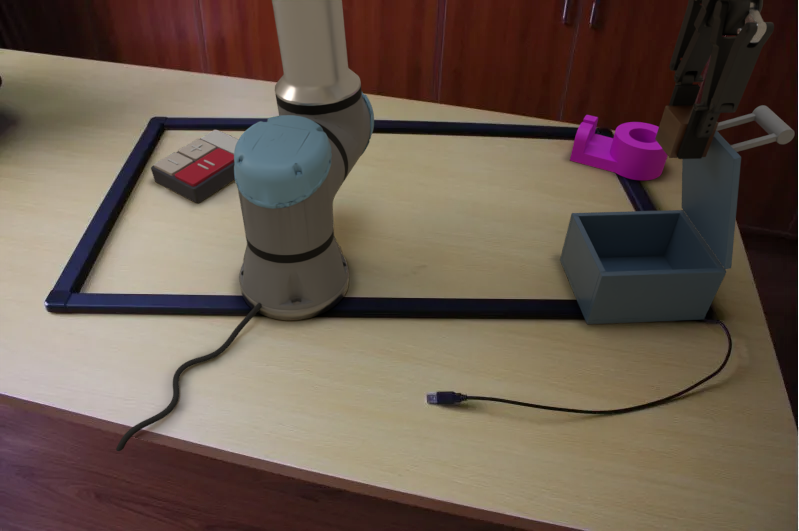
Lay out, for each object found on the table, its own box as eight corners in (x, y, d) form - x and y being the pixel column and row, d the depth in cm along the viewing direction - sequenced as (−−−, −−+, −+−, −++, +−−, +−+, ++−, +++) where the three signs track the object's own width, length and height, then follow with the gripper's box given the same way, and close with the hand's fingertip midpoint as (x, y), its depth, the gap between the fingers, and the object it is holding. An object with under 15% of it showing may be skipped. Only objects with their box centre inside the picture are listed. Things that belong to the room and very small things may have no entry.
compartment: (586, 324, 87) (602, 276, 81) (559, 259, 97) (571, 212, 92) (703, 319, 89) (727, 271, 83) (664, 256, 99) (683, 209, 93)
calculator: (148, 163, 108) (215, 125, 117) (154, 184, 111) (219, 145, 119) (192, 185, 103) (258, 144, 112) (198, 207, 106) (262, 164, 115)
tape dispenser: (666, 160, 120) (676, 130, 116) (657, 186, 114) (667, 155, 109) (582, 138, 126) (589, 109, 121) (568, 162, 119) (575, 132, 115)
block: (669, 158, 76) (681, 123, 73) (654, 139, 79) (665, 105, 76) (705, 157, 76) (719, 123, 73) (689, 138, 80) (701, 104, 77)
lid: (734, 158, 71) (816, 136, 70) (683, 102, 81) (754, 82, 80) (725, 269, 83) (795, 252, 81) (681, 207, 93) (743, 191, 92)
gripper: (680, -88, 69) (624, 112, 84) (763, -39, 55) (679, 187, 71) (746, -87, 69) (679, 111, 85) (845, -39, 56) (744, 185, 71)
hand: (679, 145), depth 78 cm, fingers closed on block, 4 cm apart
